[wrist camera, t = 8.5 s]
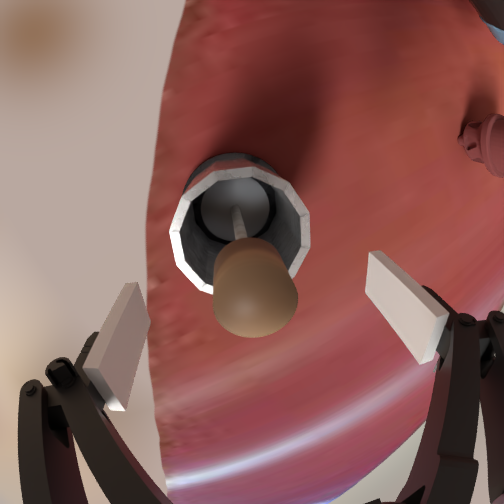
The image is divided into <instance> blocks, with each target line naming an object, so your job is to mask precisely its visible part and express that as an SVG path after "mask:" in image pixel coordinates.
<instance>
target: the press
mask: <svg viewBox="0 0 504 504" xmlns="http://www.w3.org/2000/svg"><path fill="white" fill-rule="evenodd" d="M246 177H250V178H252V179H254V180H255V181H256V182H257V183H259V184H260V185H261V187H262V188H263V189H264V191H265V192H266V195H267V197H268V200H269V215H268V218H267V221H266V223H265V225H264V226H263V228H262V229H261V230H260V231H259V232H258V233H257V234H255V235H254V236H252V238H259V239H262V240H265V241H267V242H268V243H270V244H271V245H272V246H274V247H275V249H276V250H277V251H278V253H279V254H280V256H281V258H282V260H283V262H284V264H285V266H286V268H287V270H288V272H289V274H290V277H291V279H292V278H294V276H295V275H296V273H297V271H298V269H299V267H300V265H301V264H302V262H303V260H304V258H305V256H306V254H307V252H308V251H309V249H310V218H309V212H308V210H307V208H306V207H305V205H304V204H303V202H302V201H301V199H300V198H299V196H298V195H297V193H296V192H295V190H294V189H293V187H292V186H291V184H290V183H289V182H288V181H286V180H285V179H283V178H281V177H280V176H279V175H278V174H277V172H276V171H275V170H274V169H273V168H272V167H271V166H270V165H269V164H267V163H266V162H264V161H263V160H261V159H259V158H257V157H255V156H252V155H249V154H245V153H225V154H221V155H218V156H215V157H213V158H210V159H208V160H207V161H205V162H204V163H202V164H201V165H200V166H199V167H198V168H197V169H196V170H195V171H194V172H193V173H192V175H191V176H190V178H189V179H188V181H187V183H186V185H185V187H184V191H183V194H182V197H181V200H180V203H179V205H178V208H177V211H176V213H175V216H174V219H173V222H172V224H171V227H170V230H169V232H170V237H171V242H172V247H173V251H174V256H175V261H176V265H177V266H178V267H179V268H180V269H181V271H182V272H183V273H184V274H185V275H186V276H187V277H188V278H189V279H190V280H191V281H192V282H193V283H194V284H195V286H196V287H197V288H198V289H199V290H201V291H204V292H207V293H210V294H213V278H214V263H215V260H216V258H217V256H218V254H219V253H220V251H221V250H222V249H223V248H224V247H225V246H226V245H227V244H229V243H231V242H232V241H227V240H224V239H221V238H219V237H217V236H215V235H214V234H213V233H212V232H211V231H210V230H209V229H208V228H207V227H206V225H205V223H204V221H203V218H202V214H201V203H202V199H203V196H204V194H205V192H206V190H207V189H208V188H209V187H210V186H212V185H213V184H214V183H216V182H217V181H221V180H229V179H237V178H246Z"/></svg>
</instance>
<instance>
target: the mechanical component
mask: <svg viewBox="0 0 504 504" xmlns="http://www.w3.org/2000/svg"><path fill="white" fill-rule="evenodd" d="M458 143H459V145H461V146H464V148H465V151H466V153H467V155H468V157H469V158H470V159H471V160H473V161H476V162H480V163H484V164H485V166H486V168H487V170H488V171H489V172H490V173H491V174H492V175H494V176H497V177H501V178H503V177H504V116H502V115H500V114H490V115H488V116H487V117H486V119H485V120H484V122H479V121H470V122H469V123H468V124H467V125H466V127H465V129H464V134H463V135H461V136H459V138H458Z"/></svg>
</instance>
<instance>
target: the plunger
mask: <svg viewBox="0 0 504 504" xmlns="http://www.w3.org/2000/svg"><path fill="white" fill-rule="evenodd" d="M201 214H202V218H203V221H204V223H205V225H206V227H207V228H208V229H209V230H210V231H211V232H212V233H213V234H214V235H215V236H217V237H219V238H221V239H224V240H227V241H232V242H231V243H229V244H227V245H226V246H225V247H224V248H223V249H222V250H221V251H220V253H219V254H218V256H217V258H216V260H215V263H214V278H213V311H214V314H215V316H216V319H217V320H218V322H219V323H220V324H221V325H222V326H223V327H224V328H225V329H226V330H228V331H229V332H231V333H233V334H236V335H239V336H243V337H262V336H266V335H269V334H272V333H274V332H276V331H278V330H280V329H281V328H282V327H284V326H285V325H286V324H287V323H288V322H289V321H290V320H291V318H292V317H293V315H294V313H295V311H296V308H297V304H298V293H297V289H296V287H295V285H294V283H293V281H292V279H291V277H290V274H289V272H288V270H287V268H286V266H285V264H284V262H283V260H282V258H281V256H280V254H279V253H278V251H277V250H276V249H275V247H274V246H272V245H271V244H270V243H268V242H267V241H265V240H262V239H259V238H252V236H254V235H255V234H257V233H258V232H259V231H260V230H261V229H262V228H263V226H264V225H265V223H266V221H267V218H268V215H269V200H268V197H267V195H266V192H265V191H264V189H263V188H262V187H261V185H260V184H259V183H257V182H256V181H255V180H254V179H252V178H250V177H246V178H237V179H229V180H221V181H217V182H216V183H214V184H213V185H212V186H210V187H209V188H208V189H207V190H206V192H205V194H204V196H203V199H202V203H201Z"/></svg>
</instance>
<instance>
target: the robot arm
mask: <svg viewBox="0 0 504 504" xmlns="http://www.w3.org/2000/svg"><path fill="white" fill-rule="evenodd" d="M469 1H470V2H471V4H472V5H473V7H474V8H475V9H476V11H477V12H478V14H479V17H480V18H481V20H482V21H483V22H484V23H485V24H486V25H487V27H488V28H489V30H490V31H491V33H492V34H493V36H494V37H495V38H496V39H497V40H498V41H499V42H501V43H502V44H503V45H504V0H469ZM365 293H366V294H367V296H368V297H369V298H370V299H371V301H372V302H373V303H374V304H375V306H376V307H377V308H378V309H379V311H380V312H381V313H382V315H383V316H384V317H385V318H386V320H387V321H388V322H389V324H390V325H391V326H392V328H393V329H394V330H395V332H396V333H397V334H398V335H399V337H400V338H401V339H402V341H403V342H404V344H405V345H406V346H407V348H408V349H409V350H410V352H411V353H412V354H413V356H414V357H415V359H416V360H417V361H418V363H419V364H420V365H421V364H424V363H426V362H429V361H431V360H432V359H433V357H434V354H435V352H436V351H437V352H438V353H439V355H440V357H439V359H438V361H437V364H436V366H435V368H434V370H433V372H435V371H436V376H435V382H434V388H433V393H432V398H431V403H430V407H429V412H428V416H427V420H426V424H425V428H424V432H423V435H422V439H421V442H420V446H419V449H418V452H417V455H416V458H415V461H414V464H413V467H412V470H411V472H410V475H409V478H408V481H407V483H406V485H405V486H404V488H403V489H402V491H401V492H400V494H399V496H398V497H397V499H396V501H395V502H381V501H380V498H379V499H376V500H373V501H371V502H368V503H365V504H470V502H471V498H472V494H473V491H474V486H475V482H476V477H477V473H478V466H479V464H478V461H477V460H475V459H474V458H473V454H474V448H475V442H476V433H477V426H478V416H479V402H480V403H481V408H482V415H483V421H484V429H485V436H486V447H487V461H488V487H489V497H490V503H491V504H504V313H502V312H500V311H491V312H489V314H488V317H487V319H486V320H481V321H477V320H476V319H475V318H474V317H473V316H471V315H469V314H466V313H460V314H458V313H457V312H456V311H455V310H453V309H452V308H451V307H450V306H449V305H448V304H447V303H446V302H445V301H444V300H442V298H441V297H440V296H438V294H436V293H435V292H434V291H433V290H432V289H430V288H428V287H426V286H424V285H423V286H420V285H419V284H418V283H417V282H416V281H415V280H414V279H413V278H412V277H410V276H409V275H408V274H407V273H406V272H405V271H404V270H403V269H401V268H400V267H399V266H398V265H397V264H396V263H395V262H393V261H392V260H391V259H390V258H389V257H388V256H386V255H385V254H384V253H383V252H382V251H380V250H378V251H372V252H369V259H368V270H367V279H366V288H365ZM150 323H151V321H150V318H149V315H148V312H147V309H146V306H145V303H144V300H143V297H142V294H141V291H140V288H139V285H138V282H135V283H126V284H125V286H124V287H123V289H122V291H121V293H120V295H119V296H118V298H117V300H116V302H115V304H114V305H113V307H112V309H111V311H110V313H109V315H108V317H107V318H106V320H105V322H104V324H103V326H102V328H101V330H100V332H94V333H93V334H92V335H91V336H90V337H89V338H88V339H87V341H86V342H85V344H84V347H83V348H82V350H81V353H80V354H79V356H78V358H77V360H76V362H75V364H74V366H73V364H72V363H71V361H70V360H69V359H68V358H65V357H60V358H57V359H55V360H53V361H52V362H50V364H49V365H48V366H47V368H46V370H45V374H46V376H47V377H48V379H49V380H50V382H51V383H52V385H51V386H46V387H43V385H42V384H41V383H40V381H38V380H35V379H34V380H30V381H28V382H26V383H25V384H24V385H23V386H22V388H21V391H20V397H19V412H18V458H19V459H18V460H19V472H20V483H21V491H22V498H23V504H88V501H87V498H86V494H85V491H84V487H83V483H82V479H81V475H80V471H79V466H78V462H77V457H76V452H75V447H74V441H73V435H74V438H75V440H76V442H77V444H78V446H79V448H80V451H81V452H82V454H83V456H84V459H85V460H86V462H87V464H88V466H89V468H90V470H91V472H92V473H93V475H94V477H95V479H96V481H97V482H98V484H99V486H100V487H101V489H102V491H103V492H104V494H105V496H106V497H107V498H108V500H109V502H110V503H111V504H173V503H172V502H171V501H170V500H169V499H168V498H167V497H166V495H165V494H164V493H163V492H162V491H161V490H160V488H159V487H158V486H157V485H156V484H155V483H154V482H153V480H152V479H151V478H150V477H149V475H148V474H147V473H146V471H145V470H144V469H143V467H142V466H141V465H140V463H139V462H138V461H137V459H136V458H135V457H134V456H133V454H132V453H131V451H130V450H129V448H128V447H127V445H126V444H125V442H124V441H123V440H122V438H121V436H120V435H119V433H118V432H117V430H116V429H115V427H114V426H113V424H112V422H111V421H110V419H109V417H108V416H107V414H106V413H105V411H104V410H103V408H104V405H105V403H106V404H107V406H108V407H109V408H110V410H114V411H126V408H127V404H128V399H129V396H130V392H131V388H132V385H133V381H134V377H135V374H136V370H137V366H138V363H139V359H140V356H141V352H142V349H143V346H144V343H145V339H146V336H147V333H148V330H149V326H150ZM494 354H495V356H494ZM436 369H437V370H436ZM72 433H73V434H72Z"/></svg>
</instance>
